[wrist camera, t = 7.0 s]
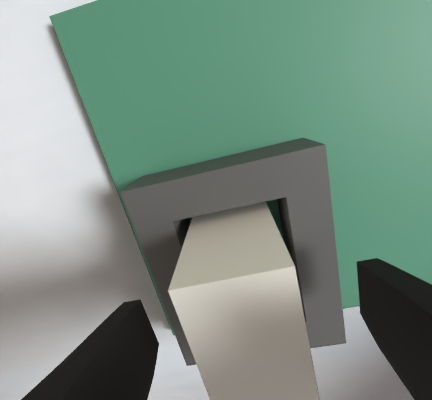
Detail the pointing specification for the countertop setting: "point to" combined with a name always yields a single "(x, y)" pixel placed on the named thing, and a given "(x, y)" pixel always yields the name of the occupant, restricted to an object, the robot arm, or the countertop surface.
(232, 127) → the board
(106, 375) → the robot arm
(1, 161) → the countertop surface
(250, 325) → the plug
